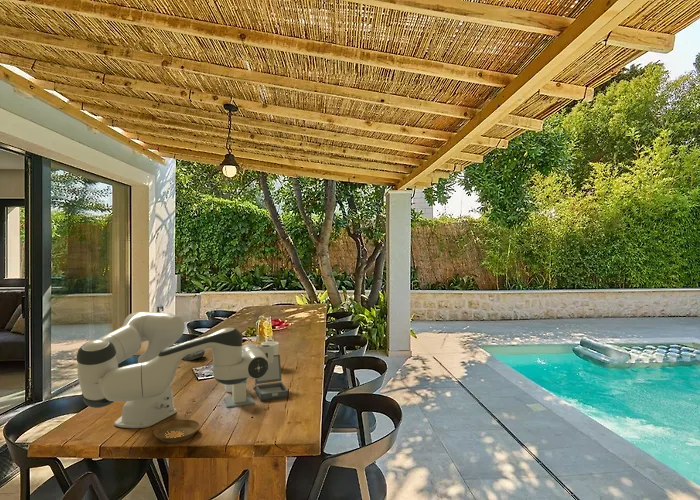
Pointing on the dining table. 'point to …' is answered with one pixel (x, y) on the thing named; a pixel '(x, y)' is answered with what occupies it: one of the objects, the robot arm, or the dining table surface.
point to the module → (239, 392)
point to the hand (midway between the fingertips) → (244, 348)
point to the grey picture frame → (271, 372)
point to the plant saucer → (177, 425)
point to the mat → (230, 402)
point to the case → (271, 391)
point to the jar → (228, 388)
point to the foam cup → (275, 344)
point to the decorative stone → (194, 355)
